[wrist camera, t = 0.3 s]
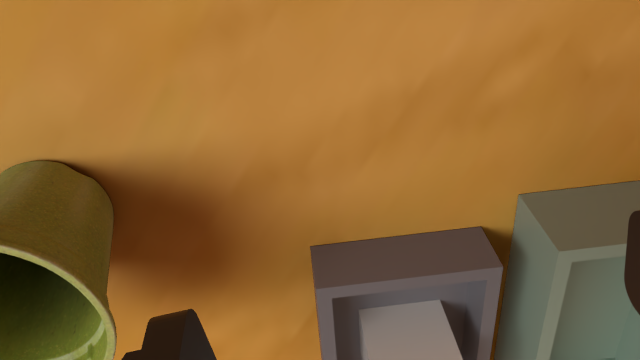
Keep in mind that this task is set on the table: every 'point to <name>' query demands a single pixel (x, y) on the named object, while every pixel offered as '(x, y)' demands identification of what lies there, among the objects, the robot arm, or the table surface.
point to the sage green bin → (570, 277)
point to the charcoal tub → (408, 286)
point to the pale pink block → (407, 333)
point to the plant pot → (54, 265)
